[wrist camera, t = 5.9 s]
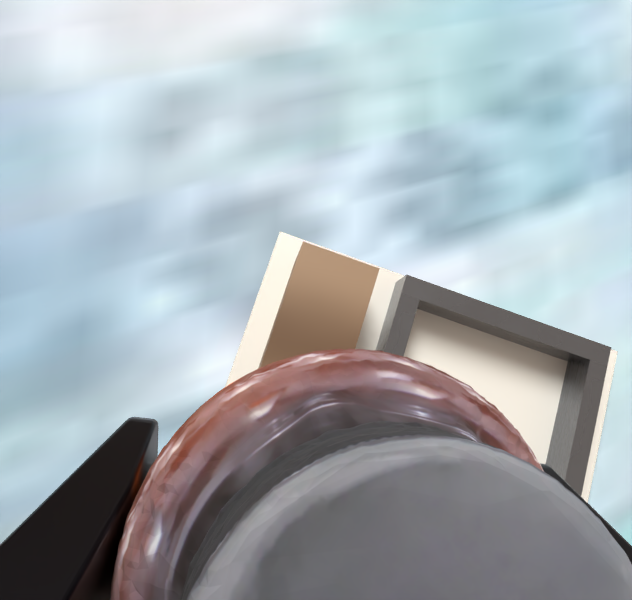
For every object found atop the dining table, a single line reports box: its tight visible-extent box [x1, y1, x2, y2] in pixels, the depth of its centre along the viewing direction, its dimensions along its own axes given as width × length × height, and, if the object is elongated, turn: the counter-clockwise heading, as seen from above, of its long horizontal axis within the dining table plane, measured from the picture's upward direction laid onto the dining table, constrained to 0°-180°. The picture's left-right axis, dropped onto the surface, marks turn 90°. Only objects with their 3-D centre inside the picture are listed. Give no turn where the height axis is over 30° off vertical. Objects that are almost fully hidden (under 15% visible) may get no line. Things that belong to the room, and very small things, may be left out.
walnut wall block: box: [258, 241, 380, 369], centre depth 20 cm, size 8×3×3 cm, turn 162°
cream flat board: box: [225, 232, 617, 503], centre depth 21 cm, size 19×16×1 cm
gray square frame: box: [376, 275, 611, 496], centre depth 21 cm, size 9×9×2 cm
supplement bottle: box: [110, 349, 632, 600], centre depth 9 cm, size 6×6×11 cm
